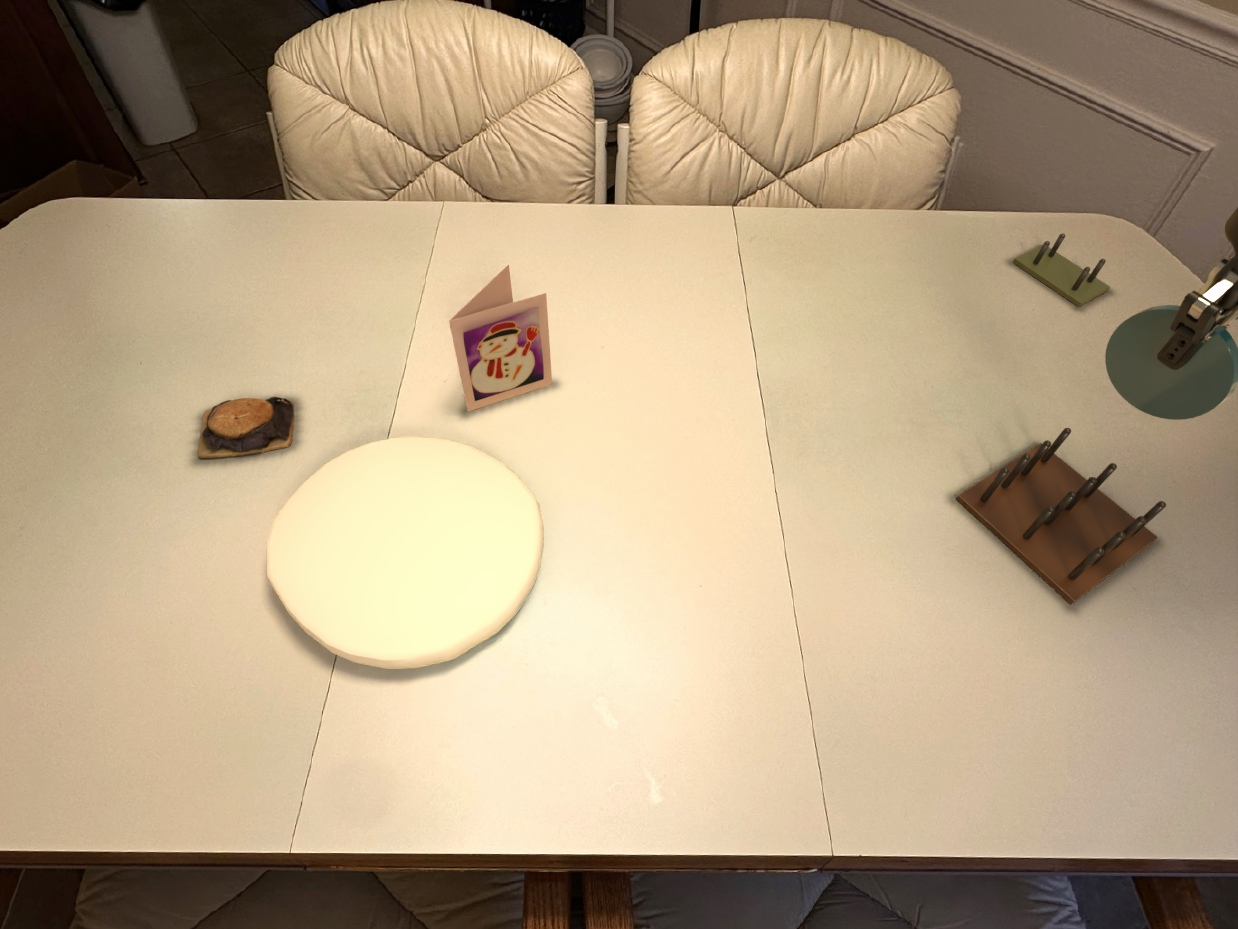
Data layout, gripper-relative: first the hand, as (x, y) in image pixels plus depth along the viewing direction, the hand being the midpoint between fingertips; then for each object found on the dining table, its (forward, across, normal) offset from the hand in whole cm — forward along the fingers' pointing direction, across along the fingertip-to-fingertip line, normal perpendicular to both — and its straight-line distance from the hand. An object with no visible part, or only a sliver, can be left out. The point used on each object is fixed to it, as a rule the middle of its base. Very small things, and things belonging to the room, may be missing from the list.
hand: (1173, 359), depth 69 cm
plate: (+23, -67, +32) cm, 77 cm away
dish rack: (+23, -2, -2) cm, 23 cm away
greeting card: (+23, -47, +50) cm, 72 cm away
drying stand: (+23, +36, +26) cm, 50 cm away
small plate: (+6, 0, 0) cm, 6 cm away
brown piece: (+23, -77, +59) cm, 99 cm away
